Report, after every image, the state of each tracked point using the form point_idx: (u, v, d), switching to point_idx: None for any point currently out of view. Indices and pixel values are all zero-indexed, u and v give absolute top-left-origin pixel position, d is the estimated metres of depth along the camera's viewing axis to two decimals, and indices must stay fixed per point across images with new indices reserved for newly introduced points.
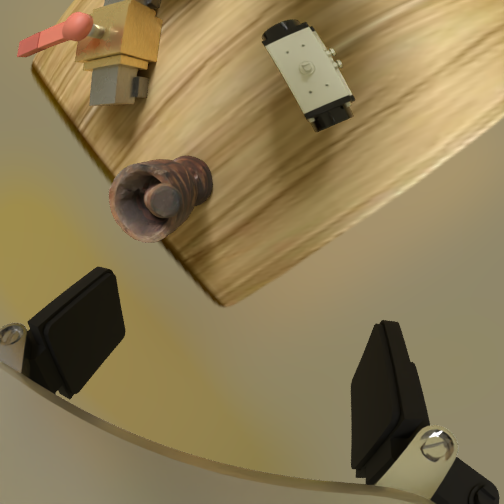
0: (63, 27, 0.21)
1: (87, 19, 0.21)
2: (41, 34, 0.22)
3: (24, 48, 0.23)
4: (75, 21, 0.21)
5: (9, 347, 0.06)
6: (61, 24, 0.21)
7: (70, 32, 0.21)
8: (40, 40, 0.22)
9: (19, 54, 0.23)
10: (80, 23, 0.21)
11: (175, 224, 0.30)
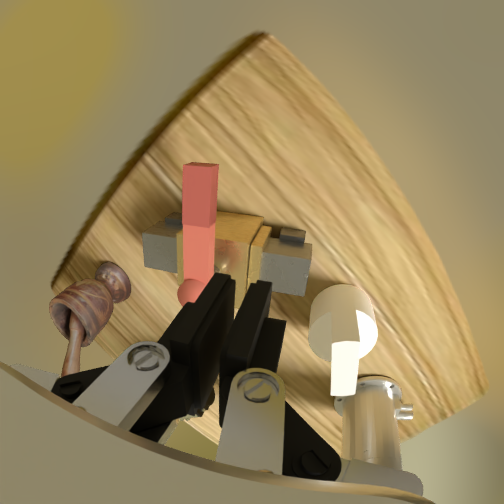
0: (197, 281, 0.27)
1: None
2: (203, 230, 0.25)
3: (192, 182, 0.23)
4: None
5: (135, 371, 0.06)
6: (205, 274, 0.26)
7: (185, 295, 0.27)
8: (192, 231, 0.25)
9: (186, 171, 0.23)
10: None
11: (68, 338, 0.39)
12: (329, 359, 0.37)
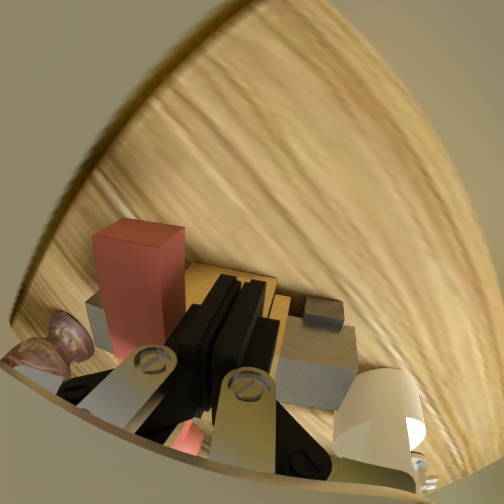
0: None
1: None
2: None
3: (120, 280, 0.09)
4: None
5: (142, 374, 0.06)
6: None
7: None
8: None
9: (100, 252, 0.08)
10: None
11: None
12: None
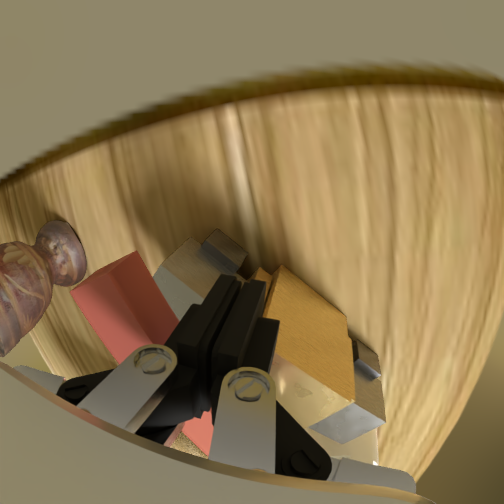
0: None
1: None
2: None
3: (105, 318, 0.09)
4: None
5: (142, 374, 0.06)
6: None
7: None
8: None
9: (80, 301, 0.09)
10: None
11: None
12: None
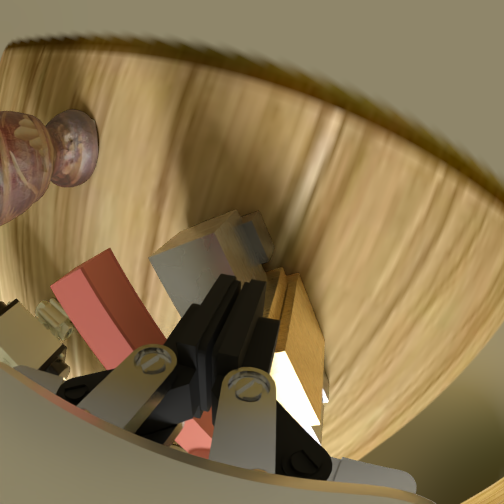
0: (206, 454, 0.12)
1: None
2: None
3: (81, 310, 0.10)
4: None
5: (141, 374, 0.06)
6: None
7: None
8: None
9: (59, 295, 0.10)
10: None
11: None
12: None
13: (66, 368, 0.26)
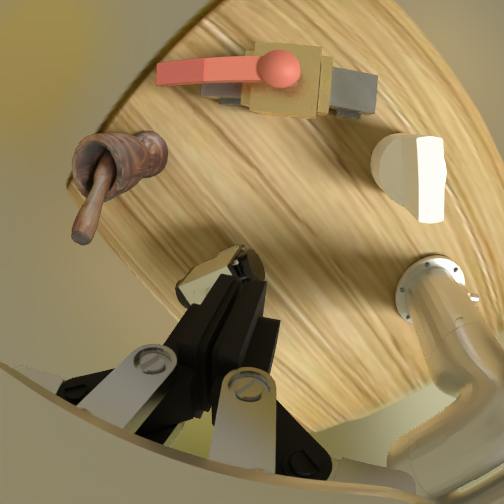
0: (259, 64, 0.23)
1: None
2: (208, 62, 0.23)
3: (169, 76, 0.25)
4: (283, 63, 0.22)
5: (142, 374, 0.06)
6: (251, 58, 0.23)
7: (277, 77, 0.23)
8: (209, 71, 0.24)
9: (160, 81, 0.25)
10: (294, 69, 0.22)
11: None
12: (401, 202, 0.32)
13: (252, 250, 0.38)
